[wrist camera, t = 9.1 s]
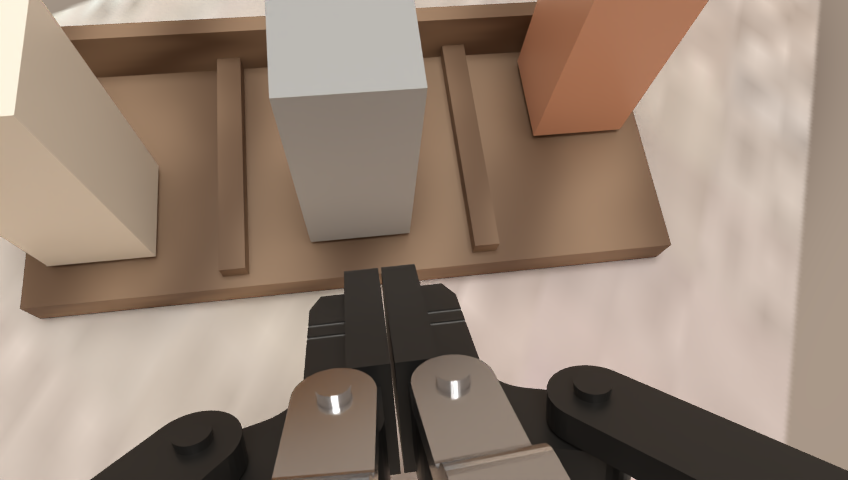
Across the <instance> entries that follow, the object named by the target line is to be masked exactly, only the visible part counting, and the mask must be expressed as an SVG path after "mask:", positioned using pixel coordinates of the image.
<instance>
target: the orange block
mask: <svg viewBox="0 0 848 480" xmlns="http://www.w3.org/2000/svg"><path fill="white" fill-rule="evenodd" d="M708 1H709V0H537V3H536V7H535V10H534V13H533V16H532V19H531V22H530V25H529V28H528V31H527V34H526V37H525V40H524V43H523V46H522V49H521V52H520V55H519V58H518V61H517V62H518V66H519V71H520V76H521V80H522V85H523V90H524V94H525V99H526V103H527V108H528V113H529V117H530V122H531V126H532V131H533V136H538V135H552V134H565V133H578V132H591V131H604V130H617V129H620V128H621V127H622V126H623V124H624V123H625V121H626V120H627V118H628V117H629V115H630V114H631V112H632V111H633V110H634V108H635V107H636V105H637V104H638V102H639V101H640V99H641V98H642V97H643V95H644V94H645V92H646V91H647V89H648V88H649V86H650V85H651V83H652V82H653V81H654V79H655V78H656V76H657V75H658V73H659V72H660V70H661V69H662V67H663V66H664V65H665V63H666V62H667V60H668V59H669V57H670V56H671V54H672V53H673V51H674V50H675V49H676V47H677V46H678V44H679V43H680V41H681V40H682V38H683V37H684V36H685V34H686V33H687V31H688V30H689V28H690V27H691V25H692V24H693V22H694V21H695V20H696V18H697V17H698V15H699V14H700V12H701V11H702V9H703V8H704V6H705V5H706V4H707V2H708Z"/></svg>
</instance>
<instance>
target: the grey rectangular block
mask: <svg viewBox="0 0 848 480" xmlns="http://www.w3.org/2000/svg"><path fill="white" fill-rule="evenodd" d="M265 14H266V37H267V61H268V84H269V100H270V103H271V107H272V110H273V114H274V117H275V120H276V124H277V127H278V131H279V134H280V138H281V141H282V145H283V148H284V152H285V155H286V158H287V162H288V165H289V169H290V172H291V176H292V179H293V183H294V186H295V189H296V193H297V196H298V200H299V203H300V207H301V210H302V214H303V217H304V221H305V224H306V227H307V231H308V234H309V238H310V241H311V242H317V241H328V240H339V239H350V238H361V237H372V236H383V235H394V234H405V233H410V226H411V218H412V210H413V202H414V194H415V186H416V178H417V169H418V161H419V153H420V145H421V137H422V129H423V121H424V113H425V105H426V97H427V81H426V74H425V68H424V61H423V54H422V48H421V41H420V35H419V28H418V21H417V15H416V8H415V2H414V0H265Z"/></svg>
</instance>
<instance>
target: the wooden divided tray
mask: <svg viewBox="0 0 848 480" xmlns="http://www.w3.org/2000/svg"><path fill="white" fill-rule="evenodd" d="M536 3H537V2H526V3H507V4H488V5H468V6H449V7H430V8H416V15H417V21H418V28H419V35H420V41H421V48H422V54H423V61H424V68H425V74H426V81H427V97H426V105H425V113H424V121H423V129H422V137H421V145H420V153H419V161H418V169H417V178H416V186H415V194H414V202H413V210H412V218H411V226H410V233H405V234H394V235H383V236H372V237H361V238H350V239H339V240H328V241H317V242H311V241H310V238H309V234H308V231H307V227H306V224H305V221H304V217H303V214H302V210H301V207H300V203H299V200H298V196H297V193H296V189H295V186H294V183H293V179H292V176H291V172H290V169H289V165H288V162H287V158H286V155H285V152H284V148H283V145H282V141H281V138H280V134H279V131H278V127H277V124H276V120H275V117H274V114H273V110H272V107H271V103H270V100H269V84H268V61H267V37H266V16H256V17H237V18H218V19H199V20H179V21H160V22H141V23H122V24H102V25H83V26H64V27H61V28H62V30H63V31H64V32H65V34H66V35H67V37H68V38H69V40H70V41H71V42H72V44H73V45H74V47H75V48H76V49H77V51H78V52H79V54H80V55H81V57H82V58H83V59H84V61H85V62H86V64H87V65H88V67H89V68H90V69H91V71H92V72H93V74H94V75H95V76H96V78H97V79H98V81H99V82H100V84H101V85H102V86H103V88H104V89H105V91H106V92H107V93H108V95H109V96H110V98H111V99H112V101H113V102H114V103H115V105H116V106H117V108H118V109H119V110H120V112H121V113H122V115H123V116H124V118H125V119H126V120H127V122H128V123H129V125H130V126H131V127H132V129H133V130H134V132H135V133H136V135H137V136H138V137H139V139H140V140H141V142H142V143H143V144H144V146H145V147H146V149H147V150H148V152H149V153H150V154H151V156H152V157H153V159H154V160H155V161H156V163H157V164H158V166H159V167H158V199H157V232H156V256H154V257H143V258H132V259H121V260H110V261H100V262H89V263H78V264H67V265H56V266H46V265H45V264H43V263H42V262H40V261H39V260H37V259H35V258H34V257H32V256H31V255H29V254H28V253H26V260H25V269H24V278H23V287H22V296H21V305H20V309H21V310H24V311H26V312H28V313H30V314H32V315H34V316H36V317H38V318H50V317H60V316H70V315H80V314H90V313H100V312H110V311H120V310H130V309H140V308H150V307H160V306H170V305H180V304H190V303H200V302H210V301H220V300H230V299H240V298H250V297H260V296H269V295H279V294H289V293H299V292H309V291H319V290H329V289H339V288H344V271H352V270H362V269H371V268H378V272H379V280H380V284H382V277H381V267H389V266H399V265H408V264H415V267H416V271H417V275H418V279H419V280H429V279H439V278H449V277H459V276H469V275H479V274H489V273H499V272H509V271H518V270H528V269H538V268H548V267H558V266H568V265H578V264H588V263H598V262H608V261H618V260H628V259H638V258H648V257H656V256H658V255H659V254H660V253H661V252H663V251H664V250H665V249H666V248H668V247H669V246H670V245H671V243H670V239H669V236H668V232H667V229H666V225H665V222H664V218H663V215H662V211H661V208H660V204H659V201H658V197H657V194H656V190H655V187H654V183H653V180H652V176H651V173H650V169H649V166H648V163H647V159H646V156H645V152H644V149H643V145H642V142H641V138H640V135H639V131H638V128H637V124H636V121H635V117H634V114H633V111H632V112H631V114H630V115H629V117H628V118H627V120H626V121H625V123H624V124H623V126H622V127H621V128H620V129H617V130H604V131H591V132H578V133H565V134H552V135H538V136H533V131H532V126H531V122H530V117H529V113H528V108H527V103H526V99H525V94H524V90H523V85H522V80H521V76H520V71H519V66H518V62H517V61H518V58H519V55H520V52H521V49H522V46H523V43H524V40H525V37H526V34H527V31H528V28H529V25H530V22H531V19H532V16H533V13H534V10H535V7H536Z"/></svg>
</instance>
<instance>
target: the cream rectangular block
mask: <svg viewBox="0 0 848 480" xmlns="http://www.w3.org/2000/svg"><path fill="white" fill-rule="evenodd" d="M158 167H159V166H158V164H157V163H156V161H155V160H154V159H153V157H152V156H151V154H150V153H149V152H148V150H147V149H146V147H145V146H144V144H143V143H142V142H141V140H140V139H139V137H138V136H137V135H136V133H135V132H134V130H133V129H132V127H131V126H130V125H129V123H128V122H127V120H126V119H125V118H124V116H123V115H122V113H121V112H120V110H119V109H118V108H117V106H116V105H115V103H114V102H113V101H112V99H111V98H110V96H109V95H108V93H107V92H106V91H105V89H104V88H103V86H102V85H101V84H100V82H99V81H98V79H97V78H96V76H95V75H94V74H93V72H92V71H91V69H90V68H89V67H88V65H87V64H86V62H85V61H84V59H83V58H82V57H81V55H80V54H79V52H78V51H77V49H76V48H75V47H74V45H73V44H72V42H71V41H70V40H69V38H68V37H67V35H66V34H65V32H64V31H63V30H62V28H61V27H60V25H59V24H58V23H57V21H56V20H55V18H54V17H53V15H52V14H51V13H50V11H49V10H48V8H47V7H46V6H45V4H44V3H43V1H42V0H0V236H1V237H3V238H4V239H6V240H7V241H9V242H11V243H12V244H14V245H15V246H17V247H18V248H20V249H21V250H23V251H25V252H26V253H28V254H29V255H31V256H32V257H34V258H35V259H37V260H39V261H40V262H42V263H43V264H45V265H46V266H56V265H67V264H78V263H89V262H100V261H110V260H121V259H132V258H143V257H154V256H156V232H157V199H158Z"/></svg>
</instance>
